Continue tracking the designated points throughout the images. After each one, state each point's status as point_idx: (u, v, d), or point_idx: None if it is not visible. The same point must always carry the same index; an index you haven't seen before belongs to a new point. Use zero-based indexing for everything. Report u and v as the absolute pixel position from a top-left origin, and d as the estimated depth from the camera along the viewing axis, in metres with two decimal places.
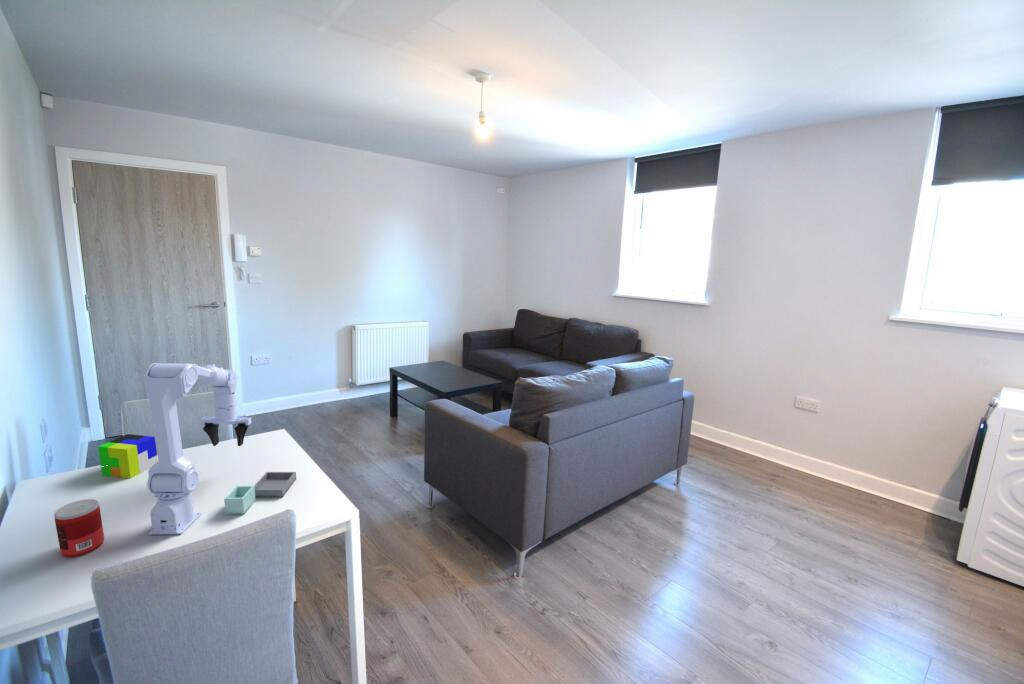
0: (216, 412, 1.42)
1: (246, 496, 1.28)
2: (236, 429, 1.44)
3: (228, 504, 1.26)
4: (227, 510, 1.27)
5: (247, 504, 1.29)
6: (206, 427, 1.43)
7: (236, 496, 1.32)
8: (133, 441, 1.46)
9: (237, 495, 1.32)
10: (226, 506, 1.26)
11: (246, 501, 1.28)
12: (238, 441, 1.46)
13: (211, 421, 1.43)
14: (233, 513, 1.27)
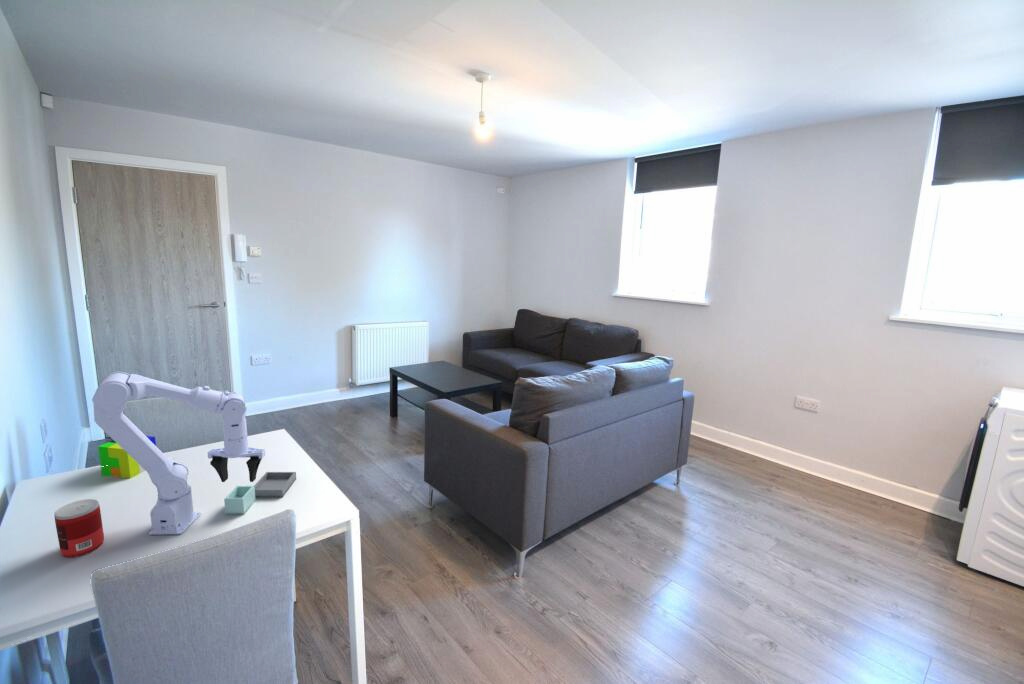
0: (225, 444, 1.24)
1: (246, 496, 1.28)
2: (248, 463, 1.25)
3: (228, 504, 1.26)
4: (227, 510, 1.27)
5: (247, 504, 1.29)
6: (214, 461, 1.25)
7: (236, 496, 1.32)
8: None
9: (237, 495, 1.32)
10: (226, 506, 1.26)
11: (246, 501, 1.28)
12: (250, 476, 1.27)
13: (219, 454, 1.25)
14: (233, 513, 1.27)
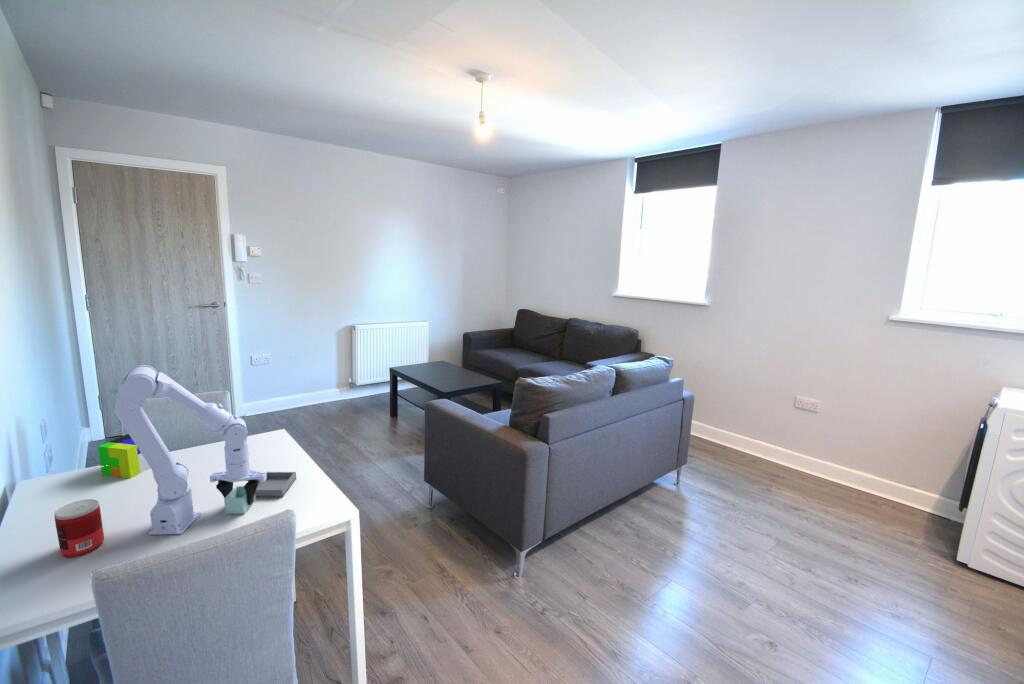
0: (227, 468, 1.25)
1: (246, 496, 1.28)
2: (246, 487, 1.27)
3: (228, 504, 1.26)
4: (227, 510, 1.27)
5: (247, 504, 1.29)
6: (220, 485, 1.26)
7: (236, 496, 1.32)
8: (133, 441, 1.46)
9: (237, 495, 1.32)
10: (226, 506, 1.26)
11: (246, 501, 1.28)
12: (248, 500, 1.29)
13: (221, 478, 1.26)
14: (233, 513, 1.27)
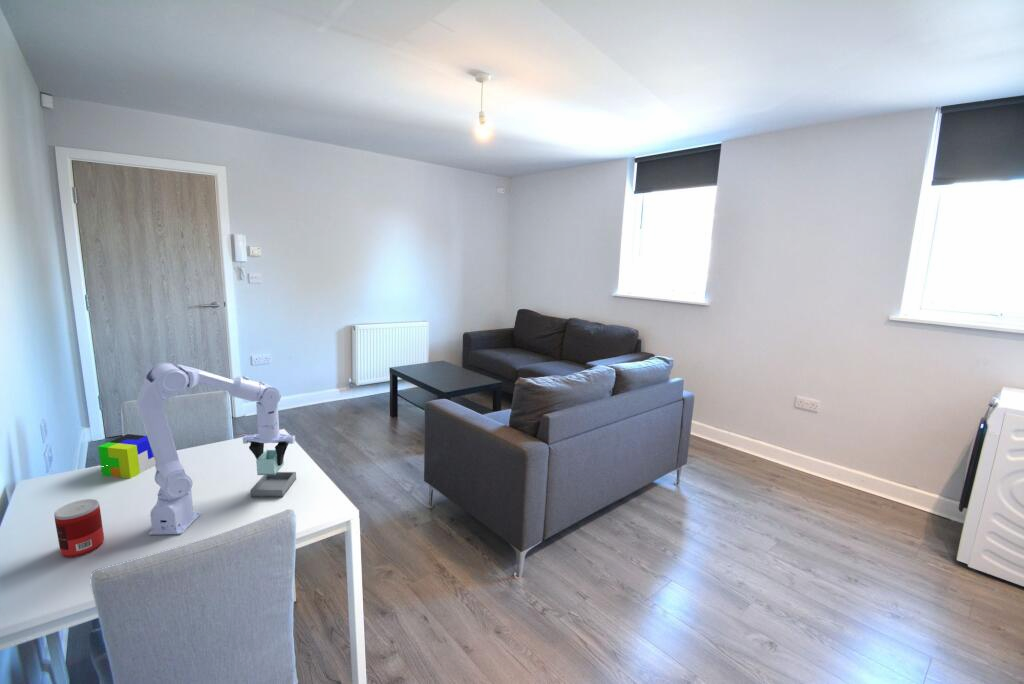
0: (259, 430, 1.34)
1: (276, 458, 1.37)
2: (276, 448, 1.36)
3: (260, 465, 1.35)
4: (259, 471, 1.35)
5: (277, 466, 1.38)
6: (252, 446, 1.35)
7: (266, 459, 1.41)
8: (133, 441, 1.46)
9: (266, 458, 1.41)
10: (258, 467, 1.35)
11: (276, 462, 1.37)
12: (278, 460, 1.38)
13: (254, 440, 1.35)
14: (264, 474, 1.36)
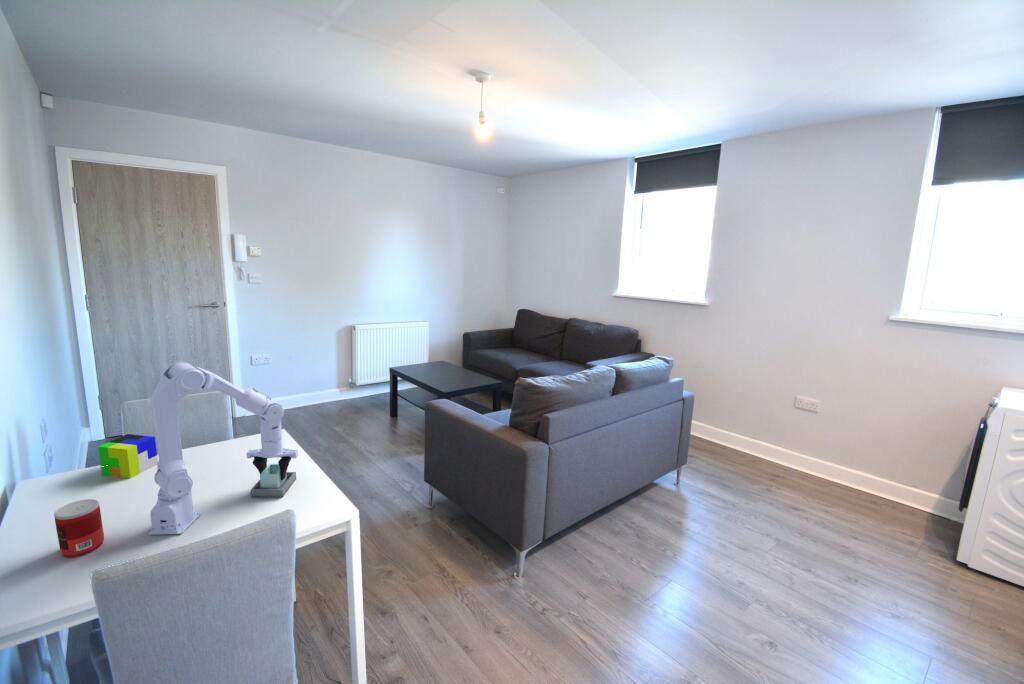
0: (263, 445, 1.36)
1: (279, 472, 1.39)
2: (280, 463, 1.38)
3: (263, 479, 1.37)
4: (262, 485, 1.37)
5: (280, 480, 1.40)
6: (256, 461, 1.37)
7: (269, 473, 1.42)
8: (133, 441, 1.46)
9: (270, 472, 1.43)
10: (261, 482, 1.37)
11: (279, 477, 1.39)
12: (281, 475, 1.40)
13: (257, 455, 1.37)
14: (268, 488, 1.38)
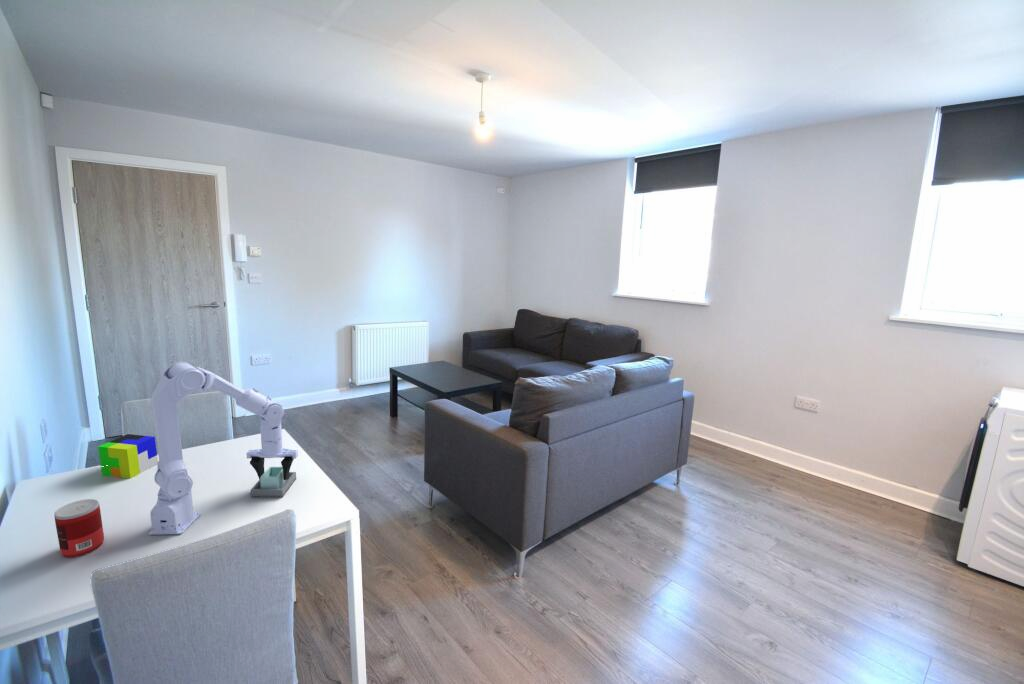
0: (263, 446, 1.36)
1: (279, 475, 1.39)
2: (283, 463, 1.38)
3: (263, 482, 1.37)
4: (262, 488, 1.38)
5: (280, 483, 1.40)
6: (253, 461, 1.37)
7: (269, 476, 1.43)
8: (133, 441, 1.46)
9: (270, 475, 1.43)
10: (262, 484, 1.37)
11: (279, 479, 1.39)
12: (284, 475, 1.40)
13: (257, 455, 1.37)
14: None
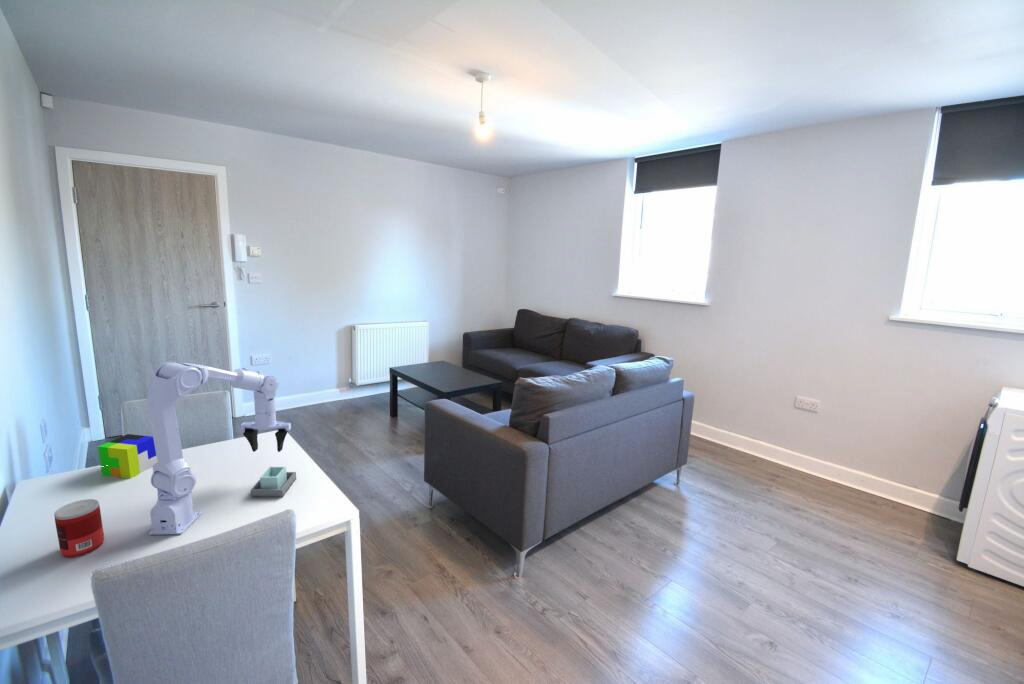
0: (257, 417, 1.40)
1: (279, 475, 1.39)
2: (276, 435, 1.42)
3: (263, 482, 1.37)
4: (262, 488, 1.38)
5: (280, 483, 1.40)
6: (246, 433, 1.41)
7: (269, 476, 1.43)
8: (133, 441, 1.46)
9: (270, 475, 1.43)
10: (262, 484, 1.37)
11: (279, 479, 1.39)
12: (278, 447, 1.44)
13: (251, 426, 1.41)
14: None
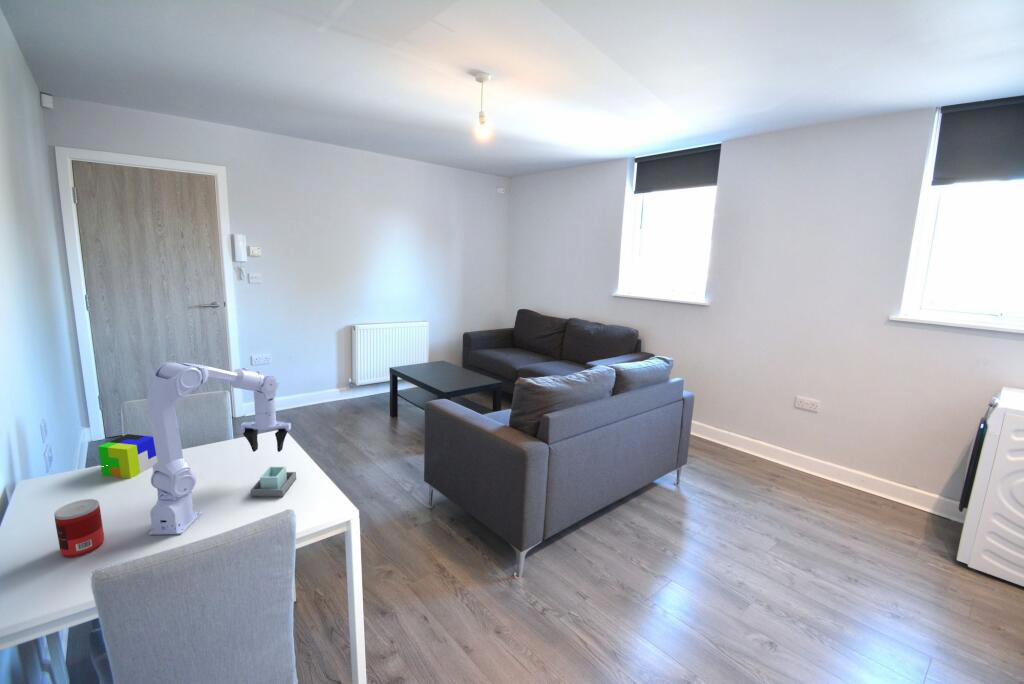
0: (257, 417, 1.40)
1: (279, 475, 1.39)
2: (276, 435, 1.42)
3: (263, 482, 1.37)
4: (262, 488, 1.38)
5: (280, 483, 1.40)
6: (246, 433, 1.41)
7: (269, 476, 1.43)
8: (133, 441, 1.46)
9: (270, 475, 1.43)
10: (262, 484, 1.37)
11: (279, 479, 1.39)
12: (278, 447, 1.44)
13: (251, 426, 1.41)
14: None
